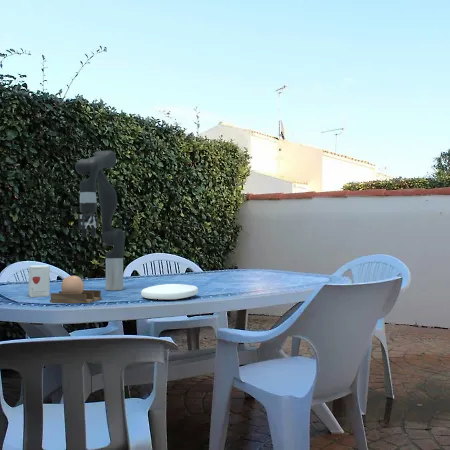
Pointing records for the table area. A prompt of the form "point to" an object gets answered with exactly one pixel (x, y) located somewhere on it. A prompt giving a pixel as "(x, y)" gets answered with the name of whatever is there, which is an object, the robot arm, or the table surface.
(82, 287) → the saucer
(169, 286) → the plate
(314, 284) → the table surface
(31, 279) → the supplement box
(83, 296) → the dish rack
